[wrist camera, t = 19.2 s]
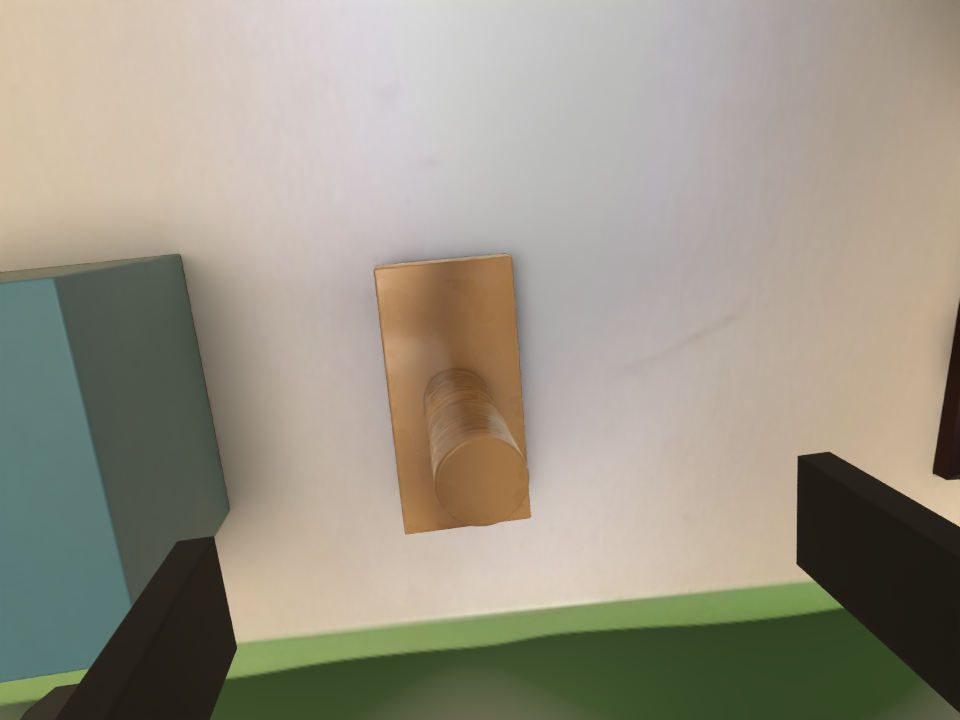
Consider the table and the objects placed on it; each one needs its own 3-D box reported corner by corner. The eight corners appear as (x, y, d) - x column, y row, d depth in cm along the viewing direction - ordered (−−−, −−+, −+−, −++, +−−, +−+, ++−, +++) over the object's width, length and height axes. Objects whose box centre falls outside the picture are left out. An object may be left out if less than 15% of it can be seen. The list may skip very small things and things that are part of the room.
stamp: (500, 251, 31) (565, 275, 19) (518, 489, 33) (585, 643, 21) (375, 262, 30) (361, 295, 18) (404, 503, 33) (408, 670, 21)
